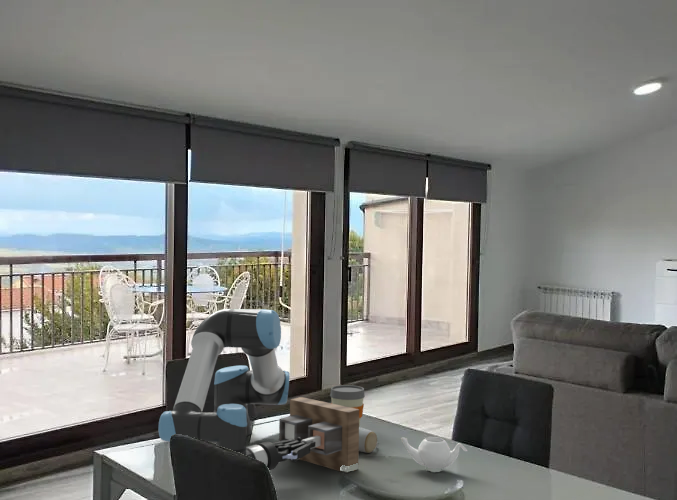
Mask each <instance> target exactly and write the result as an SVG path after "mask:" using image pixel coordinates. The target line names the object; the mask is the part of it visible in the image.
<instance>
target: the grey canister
mask: <svg viewBox="0 0 677 500" xmlns="http://www.w3.org/2000/svg"><path fill="white" fill-rule="evenodd" d="M378 445H379V443H378V435H377V433H376V432H374V431H372V430H370V429H367V428H364V427H361V426H360V427H359V453H365V454H370V453H371V454H372V452H374V450H375V449H376V448H378Z"/></svg>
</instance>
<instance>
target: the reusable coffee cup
mask: <svg viewBox="0 0 677 500" xmlns="http://www.w3.org/2000/svg"><path fill="white" fill-rule="evenodd" d="M329 397H330V398H331V404H336V405H341V406H345V407H350V408H355V409H359V427H361V426H360V425H361V419H362V417H363V413H364V405H365V404H364V398H365V388H364V387H363V386H358V385H351V384H349V385H348V384H347V385H346V384H343V385H341V384H339V385H334V386H332V387H331V388H330V394H329Z"/></svg>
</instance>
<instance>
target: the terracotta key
mask: <svg viewBox="0 0 677 500" xmlns="http://www.w3.org/2000/svg"><path fill="white" fill-rule="evenodd" d="M317 435H318V436H321V446H318V447H316V448H320V449H323V450H324V432H320V431H316V430H313V436H317Z"/></svg>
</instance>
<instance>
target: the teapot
mask: <svg viewBox="0 0 677 500" xmlns="http://www.w3.org/2000/svg"><path fill="white" fill-rule="evenodd" d="M400 440H401V442H402V444H403V446H404V448H405V450H406V451H407V453H408V455H409V456H410V457H411V459H413V461H415V463H417V464H418V465H421V466H425V468H426V467H428V468H433V469H436V468H442V469H446V468H448V467H449V466H451V465H452V464H453V463H455V461H456V460H457V458H458V456H459V454H460V448H461V449H462V451H463V452H469V451H468V449H467V448H466V447H465V446H464V444H462V443H460V442H459V443H457V444H456V445H455V446H454V448H453V449H452V450H451V448H450V445H449V444H448V442H447V441H446V440H445V439H444V438H442V437H439V436H428V437H425V438H424V439H423V440H422V441H421V442H420V444H419V446H417V447H418V448H415V447H413V446H411V444H410V443H409V441H408V438H407V437H405V436H402V437H400Z"/></svg>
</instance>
